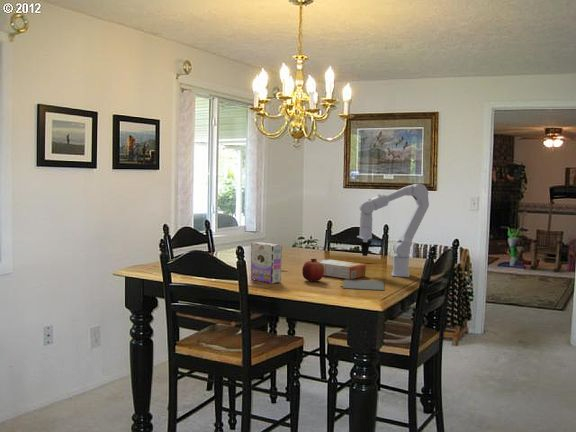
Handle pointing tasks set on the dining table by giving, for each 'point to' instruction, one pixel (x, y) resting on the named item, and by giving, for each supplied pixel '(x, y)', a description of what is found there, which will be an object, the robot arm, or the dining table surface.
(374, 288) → the mat
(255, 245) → the candy box
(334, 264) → the cracker box
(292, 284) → the dining table surface
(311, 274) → the fruit
